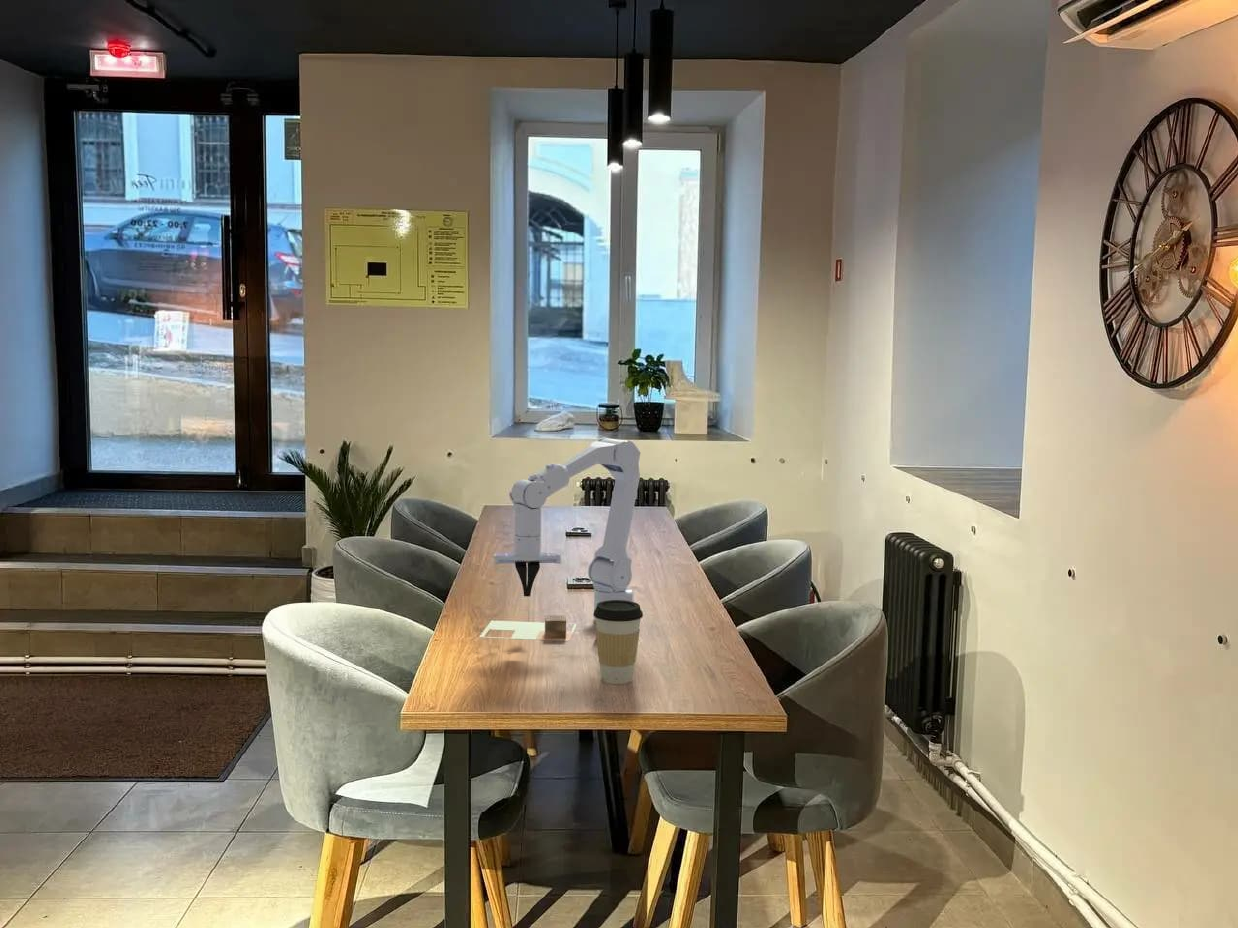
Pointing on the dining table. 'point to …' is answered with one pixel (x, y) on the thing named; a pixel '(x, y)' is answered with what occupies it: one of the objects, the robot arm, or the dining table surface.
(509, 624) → the board
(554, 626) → the block
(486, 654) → the dining table surface
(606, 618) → the coffee cup
